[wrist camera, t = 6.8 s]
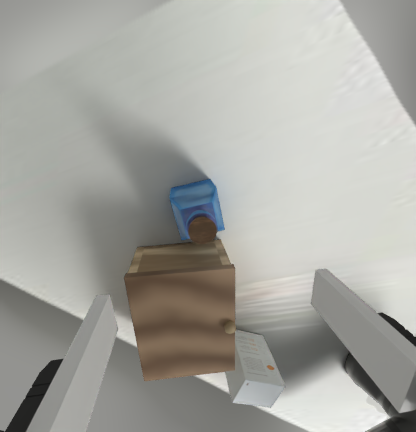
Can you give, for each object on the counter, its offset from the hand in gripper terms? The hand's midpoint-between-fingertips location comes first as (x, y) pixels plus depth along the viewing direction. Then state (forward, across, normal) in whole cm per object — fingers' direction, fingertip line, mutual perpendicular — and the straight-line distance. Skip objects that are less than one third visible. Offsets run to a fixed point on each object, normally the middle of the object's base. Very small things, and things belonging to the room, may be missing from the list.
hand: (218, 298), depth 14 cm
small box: (+23, +8, -31) cm, 39 cm away
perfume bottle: (+23, 0, 0) cm, 23 cm away
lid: (+14, -3, -16) cm, 22 cm away
